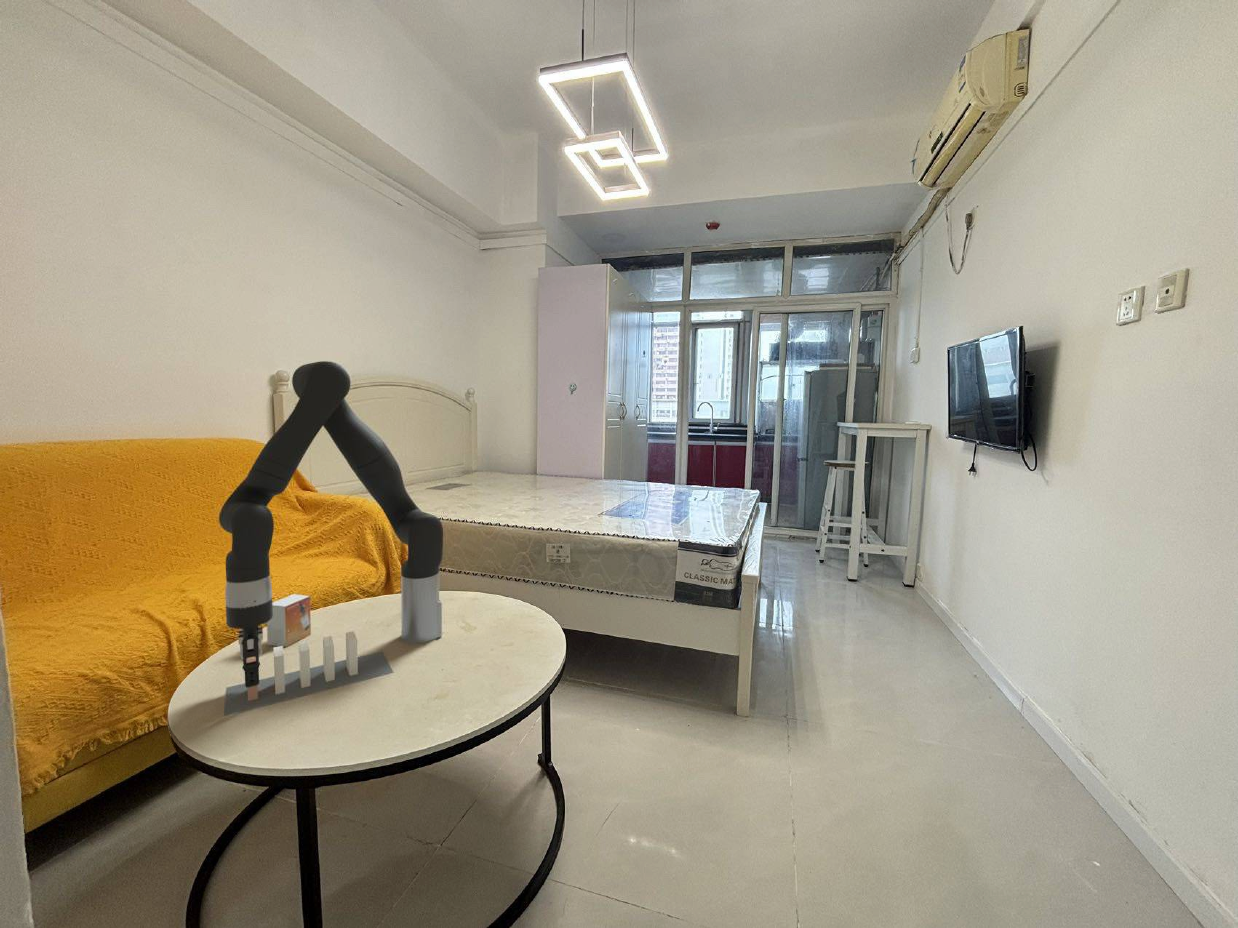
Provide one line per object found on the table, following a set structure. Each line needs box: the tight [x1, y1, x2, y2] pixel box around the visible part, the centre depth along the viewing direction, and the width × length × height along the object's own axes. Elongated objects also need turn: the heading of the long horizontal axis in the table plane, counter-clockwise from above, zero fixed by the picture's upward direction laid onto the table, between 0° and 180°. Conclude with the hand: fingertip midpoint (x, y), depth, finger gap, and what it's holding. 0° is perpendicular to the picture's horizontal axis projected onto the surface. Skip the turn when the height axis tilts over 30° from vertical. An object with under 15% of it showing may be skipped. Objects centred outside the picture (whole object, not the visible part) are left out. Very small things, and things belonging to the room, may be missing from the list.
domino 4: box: [322, 635, 335, 682], centre depth 109 cm, size 2×5×8 cm, turn 36°
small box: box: [266, 593, 312, 648], centre depth 126 cm, size 8×6×10 cm
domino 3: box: [298, 640, 311, 688], centre depth 106 cm, size 2×5×8 cm, turn 36°
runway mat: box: [223, 650, 395, 717], centre depth 107 cm, size 30×12×1 cm, turn 126°
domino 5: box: [345, 630, 359, 676], centre depth 112 cm, size 2×5×8 cm, turn 36°
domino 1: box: [247, 657, 258, 701], centre depth 101 cm, size 2×5×8 cm, turn 36°
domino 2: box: [273, 646, 285, 694], centre depth 104 cm, size 2×5×8 cm, turn 36°
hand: (252, 676), depth 101 cm, fingers open, 8 cm apart
